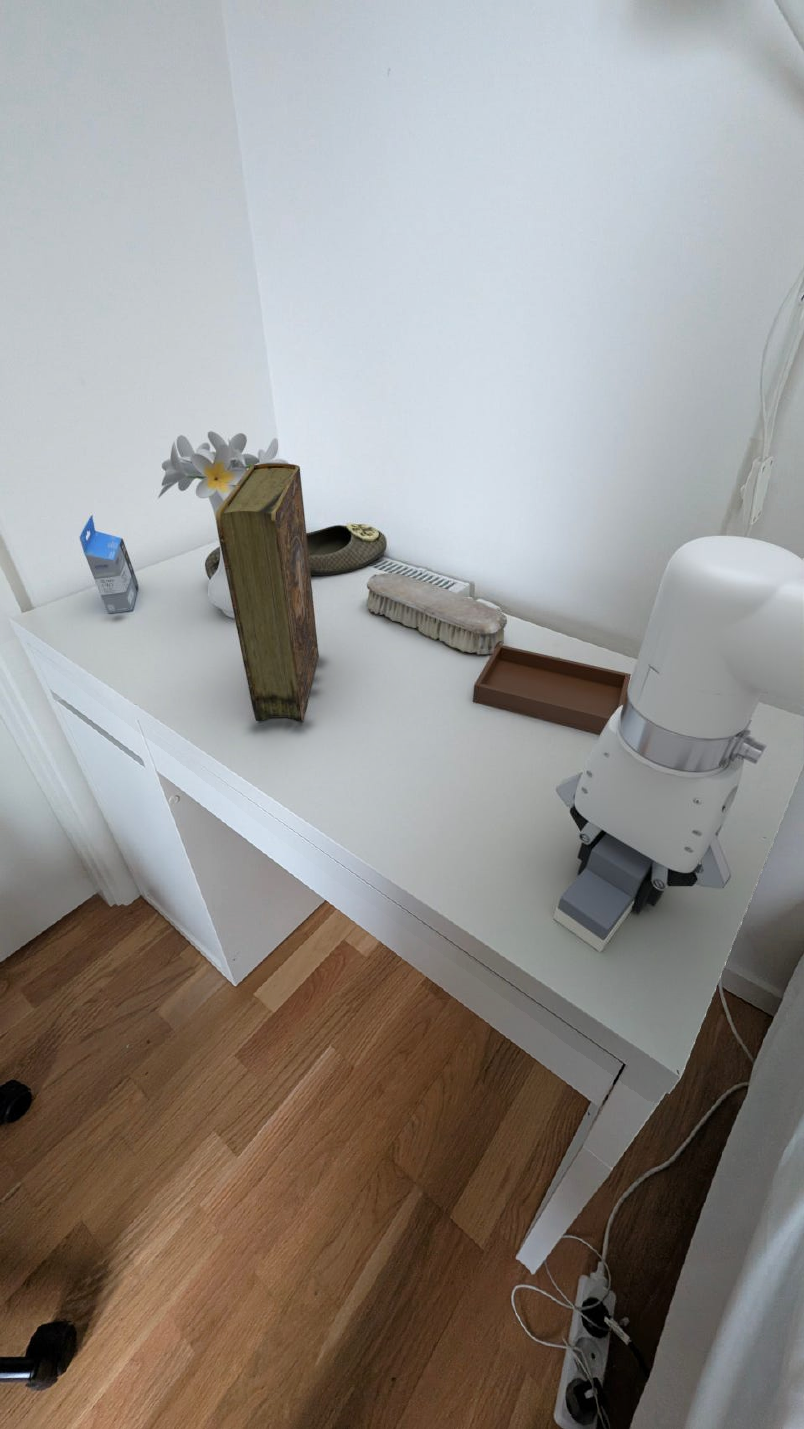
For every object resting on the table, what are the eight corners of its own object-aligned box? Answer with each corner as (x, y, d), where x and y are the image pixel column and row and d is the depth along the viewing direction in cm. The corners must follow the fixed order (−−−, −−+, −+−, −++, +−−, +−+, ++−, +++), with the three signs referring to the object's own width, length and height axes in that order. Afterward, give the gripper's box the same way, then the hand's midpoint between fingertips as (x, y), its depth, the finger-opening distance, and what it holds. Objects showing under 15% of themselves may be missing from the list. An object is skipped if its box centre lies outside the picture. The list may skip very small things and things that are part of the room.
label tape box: (133, 611, 89) (108, 534, 82) (105, 614, 89) (77, 536, 81) (139, 586, 96) (117, 512, 88) (113, 589, 95) (88, 514, 88)
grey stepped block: (615, 843, 55) (630, 803, 51) (660, 870, 52) (678, 830, 49) (552, 918, 49) (564, 879, 45) (600, 952, 46) (616, 914, 43)
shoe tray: (625, 690, 74) (631, 673, 72) (614, 738, 67) (620, 721, 65) (495, 660, 79) (497, 644, 78) (472, 701, 72) (474, 684, 70)
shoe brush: (354, 610, 90) (353, 580, 87) (385, 592, 95) (385, 564, 91) (485, 664, 78) (489, 632, 75) (513, 642, 83) (518, 611, 80)
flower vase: (314, 595, 94) (297, 427, 78) (230, 645, 82) (191, 458, 66) (255, 575, 99) (229, 415, 84) (169, 620, 87) (119, 442, 72)
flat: (399, 563, 104) (399, 521, 99) (216, 601, 92) (206, 556, 87) (374, 541, 111) (373, 502, 106) (202, 574, 100) (192, 531, 95)
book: (280, 651, 81) (252, 462, 65) (319, 651, 81) (301, 463, 65) (256, 726, 68) (213, 514, 52) (302, 727, 68) (274, 515, 52)
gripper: (831, 756, 37) (729, 916, 48) (594, 655, 46) (555, 810, 58) (796, 821, 33) (692, 979, 44) (542, 696, 42) (511, 854, 53)
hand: (615, 882), depth 51 cm, fingers closed on grey stepped block, 4 cm apart
